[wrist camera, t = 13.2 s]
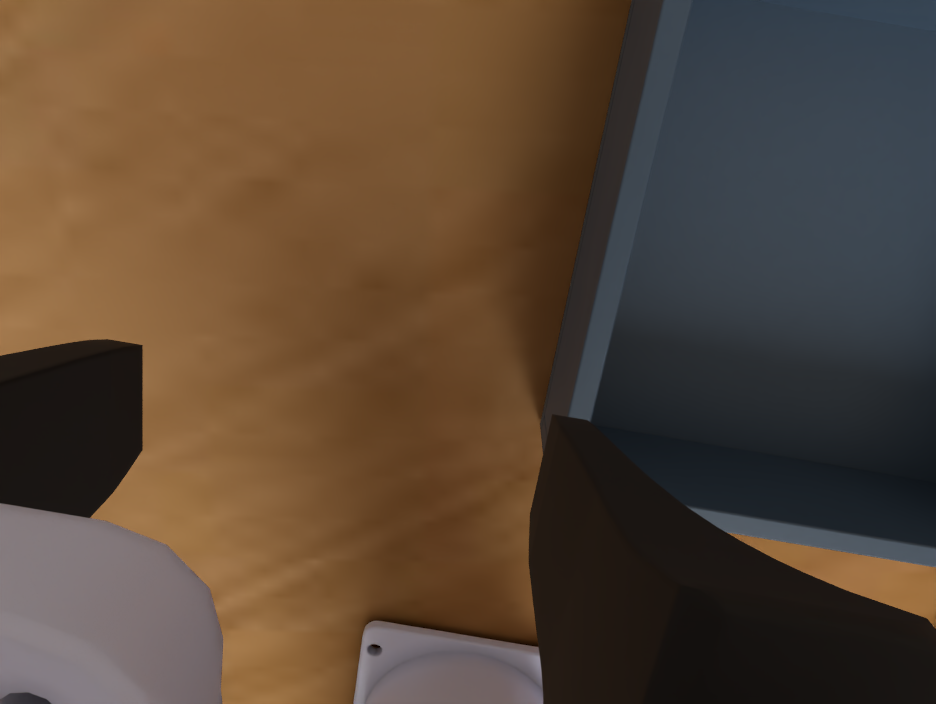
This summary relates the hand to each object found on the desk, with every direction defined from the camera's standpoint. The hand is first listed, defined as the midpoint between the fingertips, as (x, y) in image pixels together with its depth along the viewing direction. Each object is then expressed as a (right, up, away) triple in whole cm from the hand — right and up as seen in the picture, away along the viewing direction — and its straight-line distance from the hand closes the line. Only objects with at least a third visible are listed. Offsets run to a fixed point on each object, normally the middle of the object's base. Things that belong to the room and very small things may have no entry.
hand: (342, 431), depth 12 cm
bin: (+12, +4, +8) cm, 15 cm away
